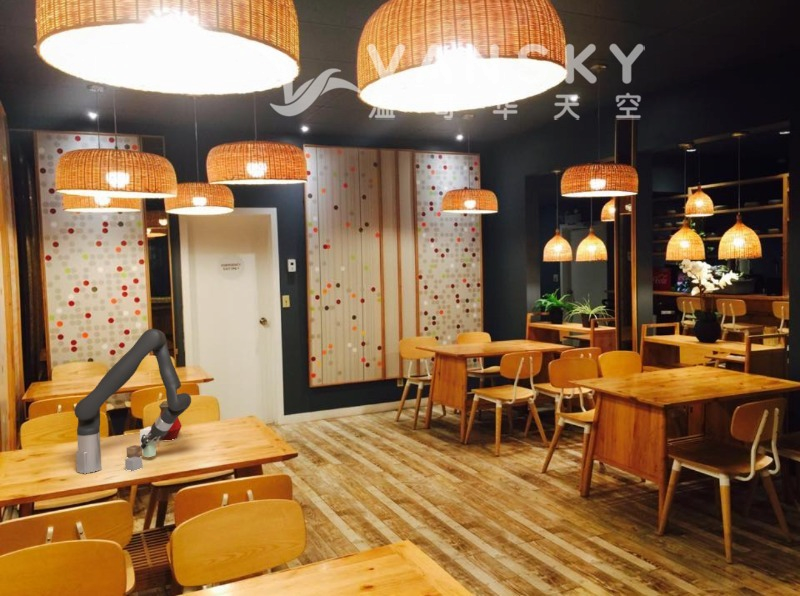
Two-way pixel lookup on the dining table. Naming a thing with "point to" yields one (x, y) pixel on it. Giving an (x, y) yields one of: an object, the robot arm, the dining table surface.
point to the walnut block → (134, 451)
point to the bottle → (174, 428)
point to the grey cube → (133, 463)
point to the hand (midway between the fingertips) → (146, 446)
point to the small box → (146, 431)
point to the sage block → (150, 449)
